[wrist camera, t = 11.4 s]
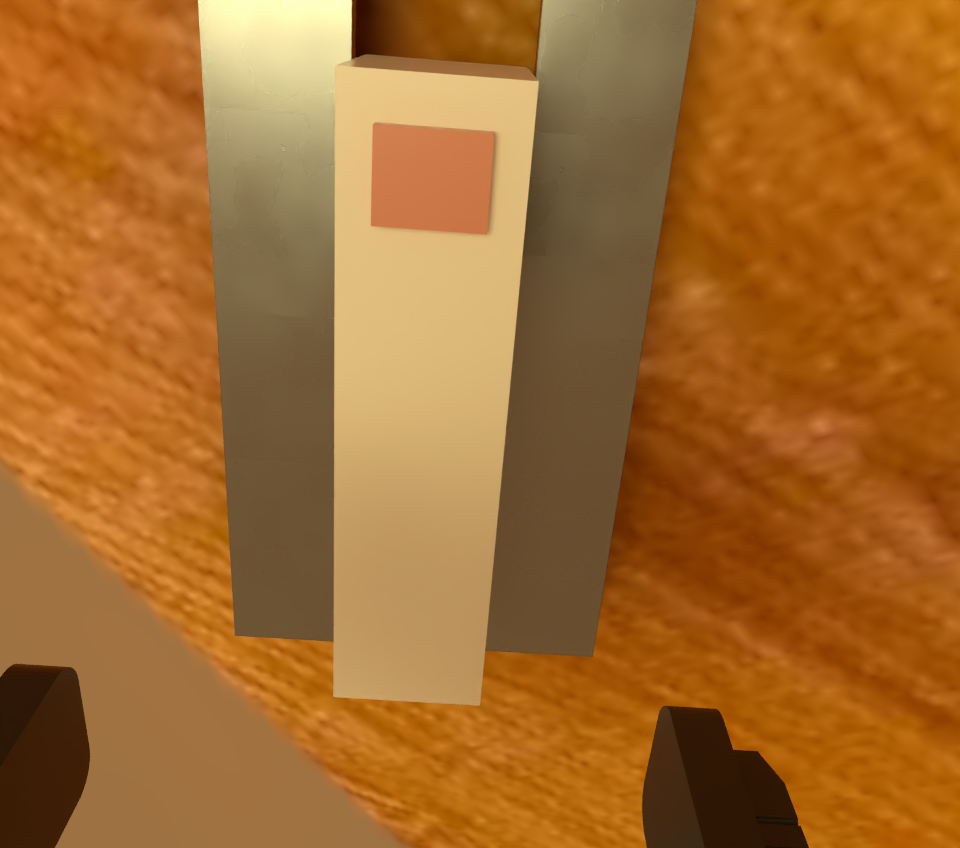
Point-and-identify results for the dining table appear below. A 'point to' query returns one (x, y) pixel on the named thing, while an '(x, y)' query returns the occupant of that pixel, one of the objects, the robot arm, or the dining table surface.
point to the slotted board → (540, 314)
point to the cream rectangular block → (423, 363)
